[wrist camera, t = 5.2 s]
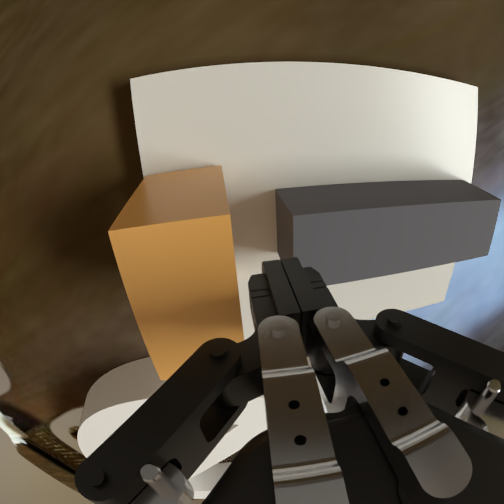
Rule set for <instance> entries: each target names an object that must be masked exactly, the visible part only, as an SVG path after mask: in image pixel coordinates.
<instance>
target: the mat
mask: <svg viewBox="0 0 504 504" xmlns="http://www.w3.org/2000/svg"><path fill="white" fill-rule="evenodd" d="M130 85H131V94H132V103H133V111H134V118H135V126H136V133H137V140H138V147H139V153H140V159H141V165H142V171H143V177H144V178H145V176H148V175H154V174H161V173H167V172H174V171H181V170H188V169H195V168H203V167H211V166H220V165H221V166H222V172H223V177H224V183H225V188H226V194H227V200H228V205H229V211H230V217H231V227H232V236H233V245H234V255H235V264H236V273H237V282H238V290H239V299H240V308H241V316H242V325H243V333H244V340H246V339H247V338H249V337H250V336H251V335H252V334H253V333H254V332H255V330H254V325H253V320H252V315H251V310H250V300H249V290H248V281H249V279H250V277H251V275H255V274H262V262H263V261H271V260H278V259H279V260H280V257H279V255H278V253H277V226H276V201H275V189H280V188H291V187H303V186H316V185H330V184H345V183H363V182H383V181H412V180H465V181H467V182H469V183H470V184H471V181H472V174H473V165H474V156H475V146H476V132H477V111H478V87H475V86H472V85H468V84H464V83H460V82H456V81H452V80H448V79H444V78H439V77H435V76H430V75H425V74H420V73H414V72H408V71H402V70H396V69H389V68H381V67H373V66H364V65H354V64H341V63H324V62H255V63H237V64H225V65H214V66H205V67H196V68H189V69H181V70H175V71H168V72H163V73H157V74H151V75H146V76H141V77H136V78H132V79H130ZM454 264H455V262H454V263H449V264H444V265H439V266H434V267H429V268H424V269H419V270H414V271H408V272H403V273H398V274H392V275H387V276H381V277H376V278H370V279H364V280H358V281H352V282H346V283H340V284H334V285H328V286H327V287H328V289H329V291H330V293H331V294H332V296H333V298H334V300H335V301H336V303H337V305H338V307H340V308H343V309H345V310H347V311H348V312H349V313H350V314H351V315H352V316H353V318H354V319H359V320H370V319H374V318H376V316H377V314H378V313H379V312H381V311H383V310H385V309H398V310H401V311H408V310H412V309H416V308H420V307H424V306H427V305H431V304H435V303H439V302H442V301H444V298H445V295H446V292H447V289H448V286H449V282H450V279H451V275H452V272H453V268H454Z"/></svg>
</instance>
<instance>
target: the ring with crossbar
mask: <svg viewBox="0 0 504 504" xmlns="http://www.w3.org/2000/svg"><path fill="white" fill-rule="evenodd" d="M307 361H308V365H309V367H310V363H311V362H310V359H309V357H307ZM166 381H167V380H160V378H159V376H158V373H157V371H156V369H155V366H154V364H153V362H152V359H151V357H148V358H143V359H139V360H136V361H132V362H129V363H126V364H124V365H121V366H119V367H117V368H115V369H113V370H111V371H109V372H108V373H106V374H104V375H103V376H102V377H100V378H99V379H98V380H97V381H96V382H95V383H94V384H93V385H92V387H91V388H90V390H89V392H88V394H87V397H86V400H85V404H84V408H83V412H82V417H81V421H80V425H79V430H78V435H77V440H78V444H79V447H80V449H81V451H82V453H83V454H84V455H85V457H86V458H87V457H88V456H90V455H91V454H92V453H93V452H94V451H95V450H96V449H97V448H98V447H99V446H100V445H101V444H102V443H103V442H104V441H105V440H106V439H107V438H108V437H109V436H111V435H112V434H113V433H114V432H115V431H116V430H117V429H118V428H119V427H120V426H121V425H122V424H123V423H124V422H125V421H126V420H127V419H128V418H129V417H130V416H131V415H132V414H133V413H134V412H135V411H136V410H137V409H138V408H139V407H140V406H141V405H142V404H143V403H144V402H145V401H146V400H147V399H148V398H149V397H150V396H151V395H153V394H154V393H155V392H156V391H157V390H158V389H159V388H160V387H161V386H162V385H163V384H164V383H165V382H166ZM321 399H322V398H321ZM322 403H323V407H324V411H325V413H328V412H327V409H326V406H325V404H324V402H323V400H322ZM265 430H267V424H266V414H265V404H264V395H262V396H260V397H258V398H255V399H253V400H251V401H249V402H248V404H247V406H246V408H245V409H244V411H243V412H242V413H241V415H240V416H239V417H238V418H237V420H236V421H235V422H234V424H233V425H232V426H231V428H230V429H229V430H228V432H227V433H226V434H225V435H224V437H223V438H222V439H221V440H220V442H219V443H218V444H217V445H216V447H215V448H214V449H213V450H212V452H211V453H210V454H209V455H208V457H207V458H206V459H205V460H204V462H203V463H202V464H201V465H200V466H199V468H198V469H197V470H196V471H195V472H194V474H193V475H192V476H191V477H190V478H189V479H188V481H189V482H190V484H191V485H192V487H193V490H194V498H195V499H205V498H206V497H207V496H208V494H209V493H210V492H211V490H212V489H213V488H214V486H215V485H216V484H217V482H218V481H219V479H220V478H221V477H222V475H223V474H224V472H225V471H226V470H227V468H228V467H229V465H230V464H231V463H232V462H227V463H219V462H220V461H222V460H224V459H225V458H227V457H229V456H230V455H232V454H234V453H235V452H237V451H239V450H240V449H242V448H243V446H244V445H245V444H246V443H247V442H248V441H250V440H251V439H252V438H253V437H255V436H256V435H258V434H259V433H261V432H263V431H265Z"/></svg>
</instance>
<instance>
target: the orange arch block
mask: <svg viewBox="0 0 504 504" xmlns="http://www.w3.org/2000/svg"><path fill="white" fill-rule="evenodd" d="M108 234H109V237H110V241H111V244H112V248H113V251H114V255H115V258H116V261H117V265H118V268H119V271H120V274H121V278H122V281H123V284H124V287H125V290H126V293H127V296H128V299H129V302H130V304H131V307H132V310H133V313H134V316H135V318H136V321H137V324H138V326H139V329H140V332H141V334H142V337H143V339H144V342H145V345H146V347H147V350H148V352H149V354H150V357H151V359H152V362H153V364H154V366H155V369H156V371H157V373H158V376H159V378H160V380H168V379H169V378H170V377H171V376H172V375H173V374H174V373H175V372H176V371H177V369H178V368H179V367H180V366H181V365H182V364H183V363H184V362H185V361H186V360H187V359H188V358H189V357H190V356H191V355H192V354H193V353H194V352H195V351H196V350H197V349H198V348H199V347H200V346H201V345H202V344H203V343H205V342H206V341H208V340H211V339H214V338H228V339H231V340H233V341H235V342H236V343H239V342H241V341H244V333H243V325H242V316H241V308H240V299H239V290H238V282H237V273H236V264H235V255H234V245H233V236H232V227H231V217H230V211H229V205H228V200H227V194H226V188H225V183H224V177H223V172H222V166H221V165H220V166H211V167H203V168H195V169H188V170H181V171H174V172H167V173H161V174H154V175H148V176H145V178H144V179H143V181H142V182H141V183H140V185H139V186H138V187H137V189H136V190H135V192H134V193H133V195H132V196H131V197H130V199H129V200H128V202H127V203H126V205H125V206H124V208H123V209H122V210H121V212H120V213H119V215H118V216H117V218H116V219H115V221H114V223H113V224H112V226H111V227H110V229H109V230H108Z"/></svg>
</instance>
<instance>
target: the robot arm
mask: <svg viewBox="0 0 504 504" xmlns="http://www.w3.org/2000/svg"><path fill="white" fill-rule="evenodd" d="M248 290H249V300H250V310H251V315H252V320H253V325H254V330H255V332H254V333H253V334H252V335H251V336H250V337H249V338H247V339H246V340H244V341H241V342H239V343H236V342H235V341H233V340H231V339H228V338H214V339H211V340H208V341H206V342H205V343H203V344H202V345H201V346H200V347H199V348H198V349H197V350H196V351H195V352H194V353H193V354H192V355H191V356H190V357H189V358H188V359H187V360H186V361H185V362H184V363H183V364H182V365H181V366H180V367H179V368H178V369H177V371H176V372H175V373H174V374H173V375H172V376H171V377H170V378H169V379H168V380H167V381H166V382H165V383H164V384H163V385H162V386H161V387H160V388H159V389H158V390H157V391H156V392H155V393H154V394H153V395H151V396H150V397H149V398H148V399H147V400H146V401H145V402H144V403H143V404H142V405H141V406H140V407H139V408H138V409H137V410H136V411H135V412H134V413H133V414H132V415H131V416H130V417H129V418H128V419H127V420H126V421H125V422H124V423H123V424H122V425H121V426H120V427H119V428H118V429H117V430H116V431H115V432H114V433H113V434H112V435H111V436H109V437H108V438H107V439H106V440H105V441H104V442H103V443H102V444H101V445H100V446H99V447H98V448H97V449H96V450H95V451H94V452H93V453H92V454H91V455H90V456H88V457H87V458H86V459H85V460H84V461H83V462H82V463H81V464H80V465H79V467H78V468H77V470H76V473H75V484H76V487H77V489H78V491H79V492H80V493H81V495H83V496H84V497H85V498H87V499H88V500H90V501H91V502H93V503H95V504H191V503H192V501H193V499H194V490H193V487H192V485H191V484H190V482H189V481H188V479H189V478H190V477H191V476H192V475H193V474H194V472H195V471H196V470H197V469H198V468H199V466H200V465H201V464H202V463H203V462H204V460H205V459H206V458H207V457H208V455H209V454H210V453H211V452H212V450H213V449H214V448H215V447H216V445H217V444H218V443H219V442H220V440H221V439H222V438H223V437H224V435H225V434H226V433H227V432H228V430H229V429H230V428H231V426H232V425H233V424H234V422H235V421H236V420H237V418H238V417H239V416H240V415H241V413H242V412H243V411H244V409H245V408H246V406H247V404H248V402H249V401H251V400H253V399H255V398H258V397H260V396H262V395H264V404H265V414H266V424H267V430H265V431H263V432H261V433H259V434H258V435H256V436H255V437H253V438H252V439H251V440H250V441H248V442H247V443H246V444H245V445H244V446H243V448H242V449H241V450H240V451H239V452H238V454H237V455H236V457H235V458H234V460H233V461H232V463H231V464H230V465H229V467H228V468H227V470H226V471H225V472H224V474H223V475H222V477H221V478H220V479H219V481H218V482H217V484H216V485H215V486H214V488H213V489H212V490H211V492H210V493H209V494H208V496H207V497H206V498H205V500H204V501H203V502H202V504H504V352H502V351H499V350H497V349H494V348H492V347H489V346H487V345H484V344H482V343H480V342H477V341H475V340H472V339H470V338H467V337H465V336H463V335H460V334H458V333H455V332H453V331H450V330H448V329H445V328H443V327H441V326H438V325H436V324H433V323H431V322H428V321H426V320H423V319H421V318H418V317H416V316H414V315H411V314H409V313H406V312H404V311H401V310H398V309H385V310H383V311H381V312H379V313H378V314H377V316H376V320H359V319H354V318H353V316H352V315H351V314H350V313H349V312H348V311H347V310H345V309H343V308H340V307H338V305H337V303H336V301H335V300H334V298H333V296H332V294H331V293H330V291H329V289H328V287H327V285H326V284H325V282H324V281H323V278H322V277H321V275H320V273H319V272H318V271H316V270H315V269H313V268H312V267H305V268H303V267H302V265H301V263H300V261H299V259H298V258H297V257H293V258H285V259H280V260H279V259H278V260H271V261H263V262H262V274H255V275H251V277H250V279H249V281H248ZM403 353H406V354H408V355H411V356H413V357H415V358H417V359H420V360H422V361H424V362H426V363H429V364H431V365H432V366H433V367H434V369H435V370H434V371H430V370H427V369H425V368H422V367H420V366H418V365H416V364H413V363H411V362H409V361H407V360H405V359H402V356H403ZM307 357H309V359H310V362H311V363H310V367H309V365H308V361H307ZM321 398H322V399H321ZM322 400H323V402H324V404H325V406H326V409H327V412H328V413H325V411H324V407H323V403H322Z"/></svg>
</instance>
